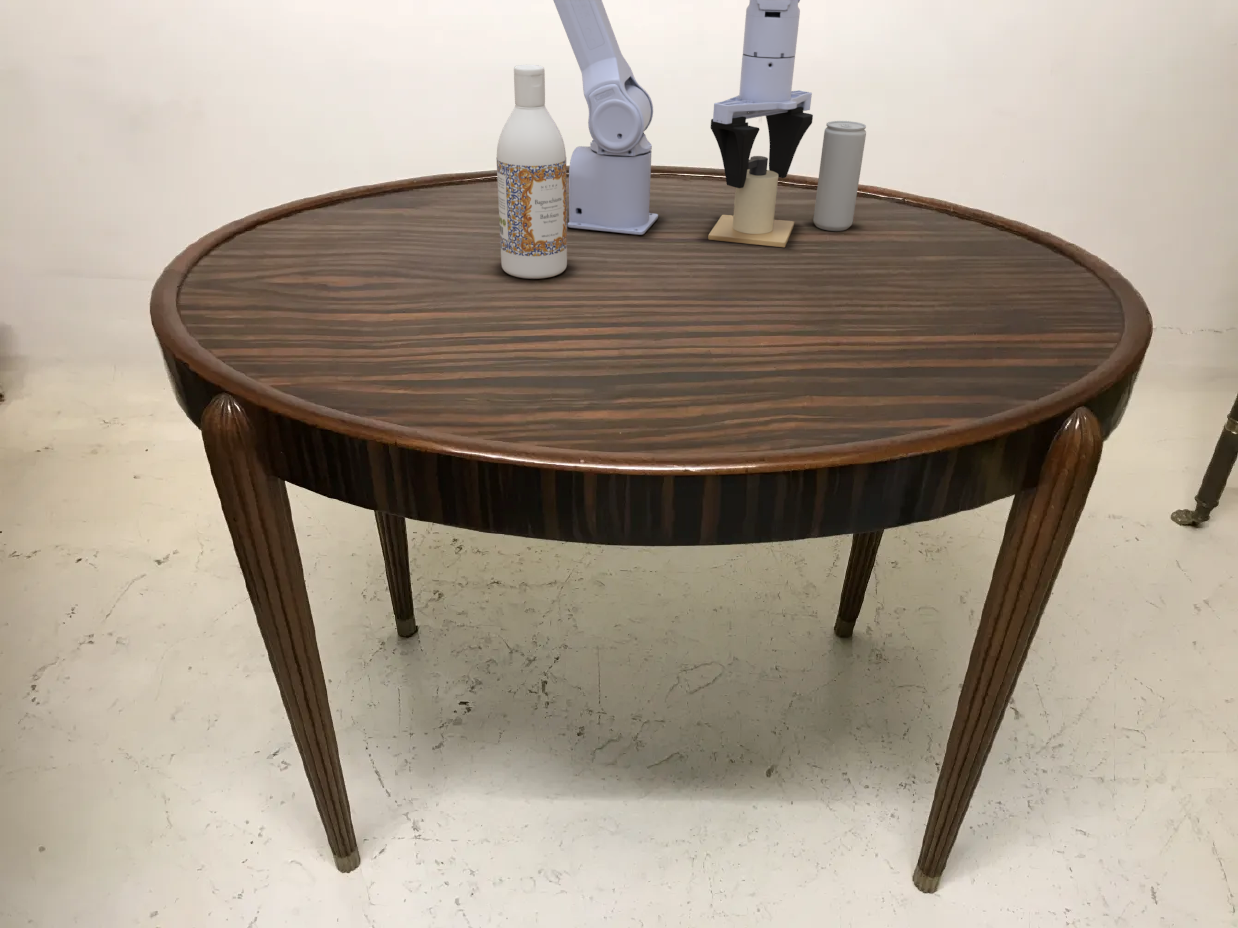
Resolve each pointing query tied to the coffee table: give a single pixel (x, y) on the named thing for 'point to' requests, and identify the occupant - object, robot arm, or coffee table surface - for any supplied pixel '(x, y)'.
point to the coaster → (773, 238)
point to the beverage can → (839, 175)
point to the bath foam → (532, 183)
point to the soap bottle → (756, 199)
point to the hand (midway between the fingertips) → (756, 181)
